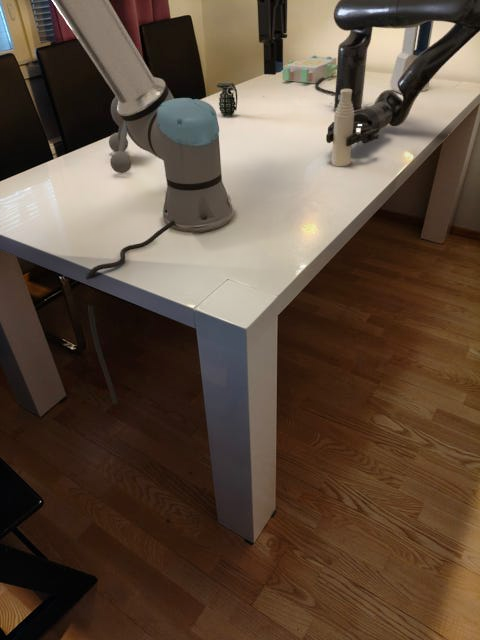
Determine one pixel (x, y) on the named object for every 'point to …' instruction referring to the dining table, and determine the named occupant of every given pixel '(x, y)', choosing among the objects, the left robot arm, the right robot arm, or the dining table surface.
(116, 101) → the molecular model
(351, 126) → the bottle
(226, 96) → the grenade
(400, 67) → the electronic device
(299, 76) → the decorative block
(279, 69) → the cap
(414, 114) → the dining table surface
